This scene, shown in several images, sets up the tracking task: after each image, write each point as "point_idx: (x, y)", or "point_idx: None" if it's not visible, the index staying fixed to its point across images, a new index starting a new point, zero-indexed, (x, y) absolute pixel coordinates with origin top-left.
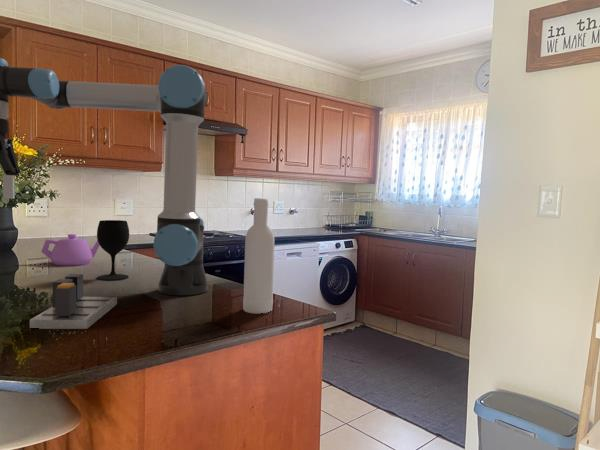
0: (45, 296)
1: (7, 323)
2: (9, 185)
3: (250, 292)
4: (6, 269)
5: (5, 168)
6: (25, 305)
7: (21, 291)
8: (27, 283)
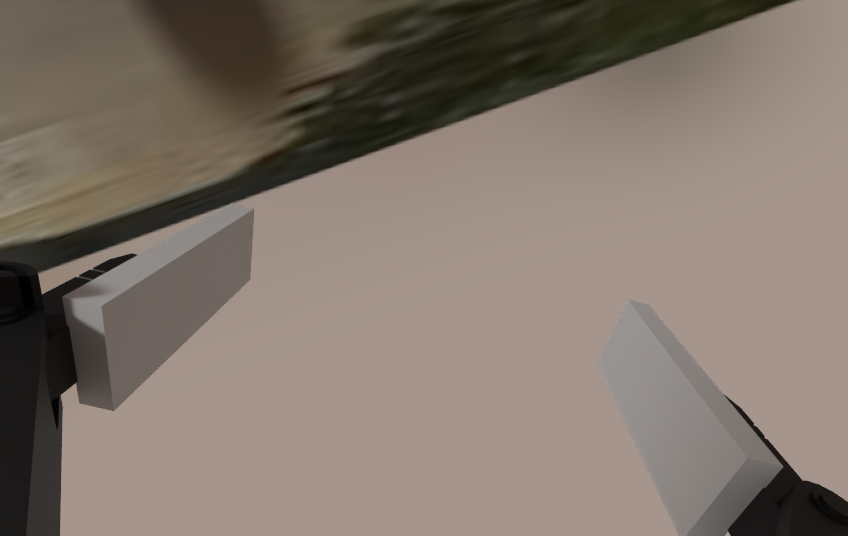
0: (413, 12)
1: (747, 12)
2: (190, 280)
3: None
4: None
5: (55, 450)
6: (533, 37)
7: (337, 118)
8: (219, 141)
